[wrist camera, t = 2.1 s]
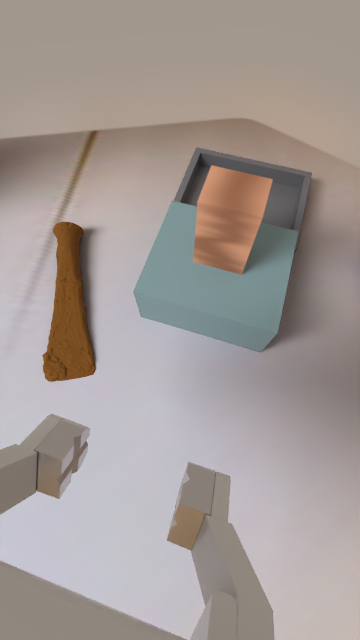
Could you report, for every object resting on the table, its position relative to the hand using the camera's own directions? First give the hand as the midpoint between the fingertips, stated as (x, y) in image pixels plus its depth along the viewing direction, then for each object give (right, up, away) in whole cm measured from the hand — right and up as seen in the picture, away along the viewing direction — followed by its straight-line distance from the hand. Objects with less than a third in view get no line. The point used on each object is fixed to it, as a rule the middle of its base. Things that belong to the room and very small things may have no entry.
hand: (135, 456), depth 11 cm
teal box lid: (+6, +9, +25) cm, 27 cm away
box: (+10, +20, +29) cm, 37 cm away
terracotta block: (+6, +12, +19) cm, 23 cm away
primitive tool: (-11, +7, +25) cm, 28 cm away
